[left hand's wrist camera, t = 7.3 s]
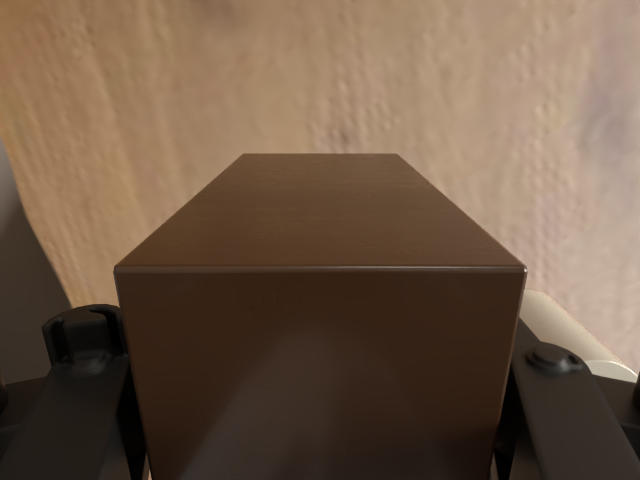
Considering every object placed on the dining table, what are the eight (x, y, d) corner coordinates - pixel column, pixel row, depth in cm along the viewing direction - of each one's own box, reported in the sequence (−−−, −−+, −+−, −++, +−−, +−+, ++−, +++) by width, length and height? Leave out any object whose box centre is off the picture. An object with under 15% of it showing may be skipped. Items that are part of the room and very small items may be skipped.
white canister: (477, 288, 29) (533, 360, 21) (570, 288, 29) (661, 360, 21) (466, 367, 31) (513, 458, 23) (553, 367, 31) (629, 457, 23)
